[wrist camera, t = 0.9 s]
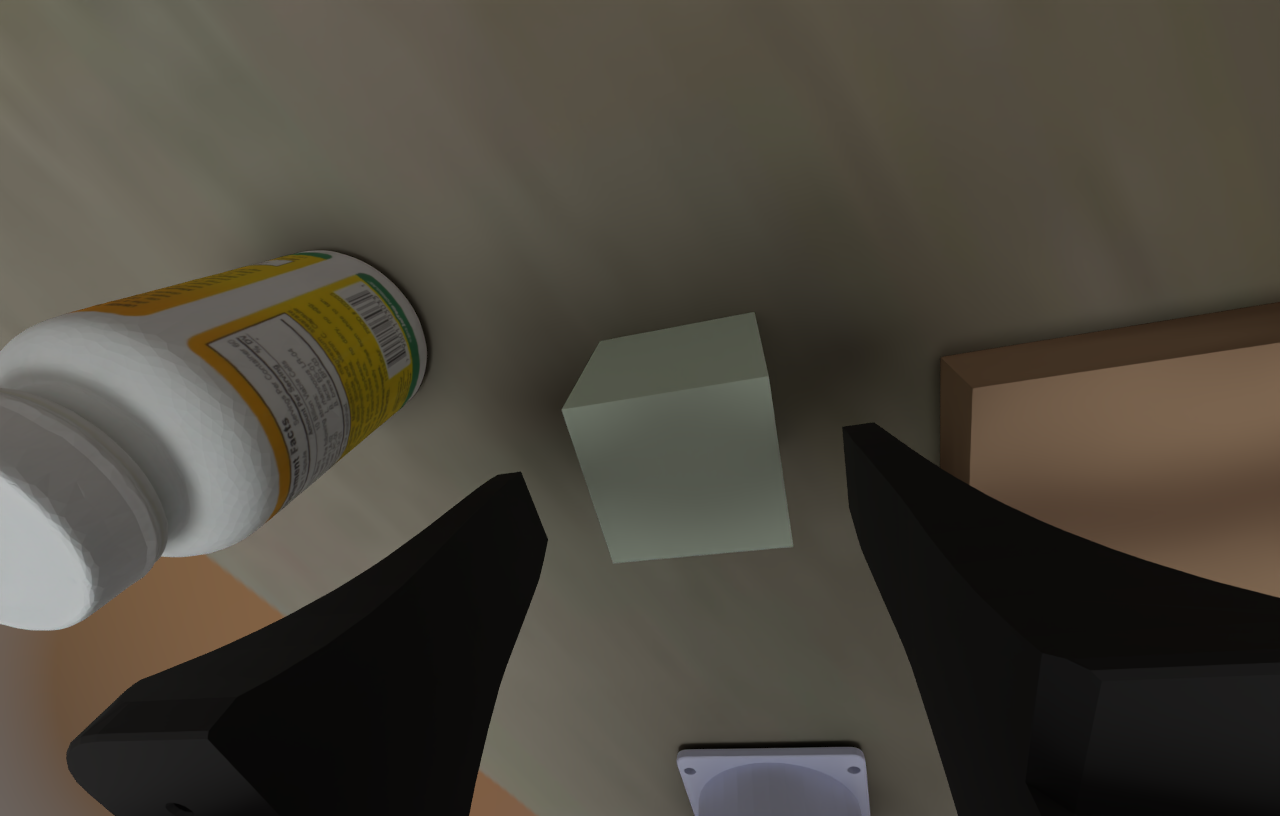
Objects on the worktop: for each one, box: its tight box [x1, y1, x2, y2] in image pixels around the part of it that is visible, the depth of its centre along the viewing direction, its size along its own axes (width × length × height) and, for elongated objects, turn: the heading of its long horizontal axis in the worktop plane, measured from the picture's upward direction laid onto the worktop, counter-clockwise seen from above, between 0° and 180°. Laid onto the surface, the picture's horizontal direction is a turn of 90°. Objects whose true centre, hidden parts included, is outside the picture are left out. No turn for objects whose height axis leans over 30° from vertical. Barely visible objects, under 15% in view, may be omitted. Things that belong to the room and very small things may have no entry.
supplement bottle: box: [0, 250, 427, 630], centre depth 12 cm, size 5×5×10 cm
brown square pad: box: [940, 302, 1280, 598], centre depth 15 cm, size 10×10×2 cm
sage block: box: [562, 312, 793, 563], centre depth 14 cm, size 4×4×4 cm
